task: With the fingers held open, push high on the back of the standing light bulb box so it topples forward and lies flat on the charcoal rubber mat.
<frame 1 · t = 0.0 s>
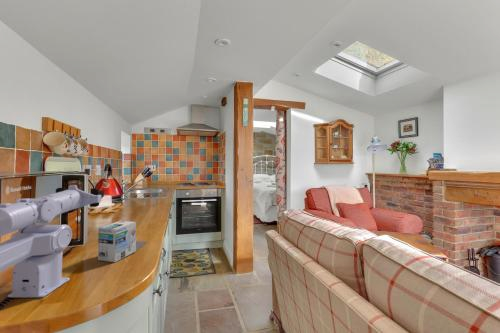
hand: (90, 193, 82), 22 cm above the counter, tool horizontal, fingers open, 7 cm apart
light bulb box: (117, 256, 85), on the counter, touching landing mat
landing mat: (129, 247, 95), on the counter
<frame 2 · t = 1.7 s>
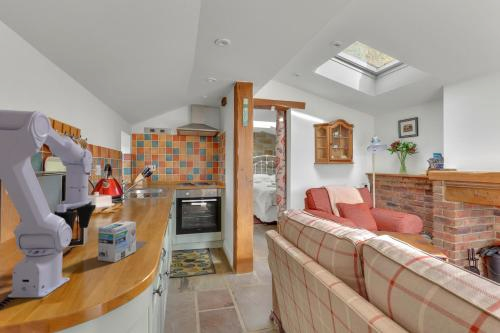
hand: (76, 231, 77), 10 cm above the counter, tool pointing down, fingers open, 7 cm apart
nothing on the counter moved.
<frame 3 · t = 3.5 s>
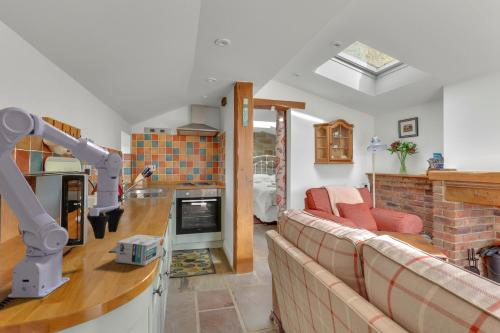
hand: (106, 235, 77), 9 cm above the counter, tool pointing down, fingers open, 7 cm apart
light bulb box: (126, 247, 84), point 3 cm above the counter
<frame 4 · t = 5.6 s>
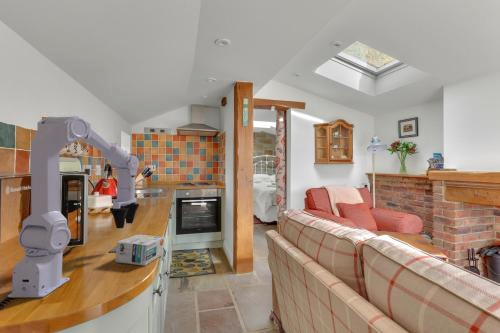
hand: (124, 225, 89), 9 cm above the counter, tool pointing down, fingers open, 7 cm apart
nothing on the counter moved.
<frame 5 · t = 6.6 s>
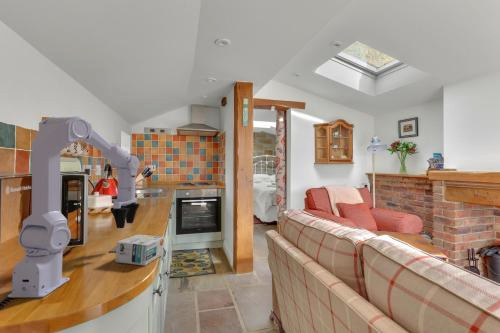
hand: (125, 225, 90), 9 cm above the counter, tool pointing down, fingers open, 7 cm apart
nothing on the counter moved.
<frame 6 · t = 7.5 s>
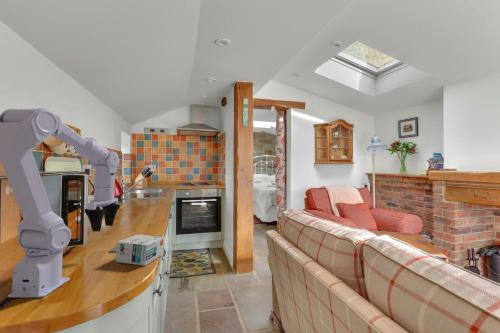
hand: (103, 228, 81), 10 cm above the counter, tool pointing down, fingers open, 7 cm apart
nothing on the counter moved.
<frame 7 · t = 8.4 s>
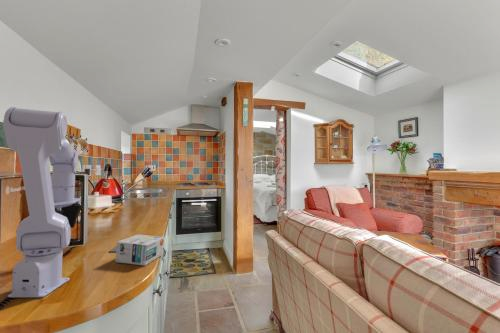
hand: (62, 230, 77), 10 cm above the counter, tool pointing down, fingers open, 7 cm apart
nothing on the counter moved.
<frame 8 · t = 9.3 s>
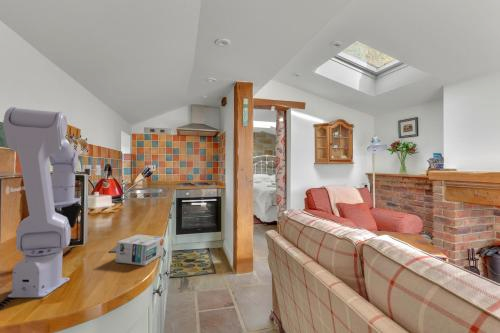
hand: (62, 230, 77), 10 cm above the counter, tool pointing down, fingers open, 7 cm apart
nothing on the counter moved.
at the end: light bulb box tilted 91°; light bulb box inside the target area (6.4 cm from its centre), point 3.4 cm above the counter; the gripper is holding nothing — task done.
